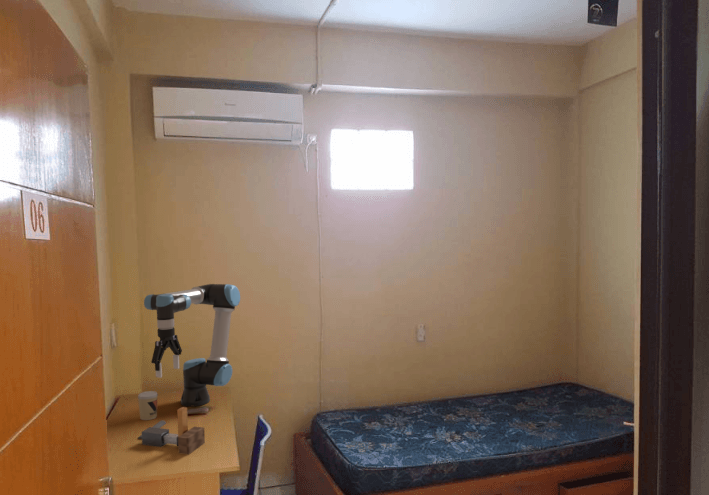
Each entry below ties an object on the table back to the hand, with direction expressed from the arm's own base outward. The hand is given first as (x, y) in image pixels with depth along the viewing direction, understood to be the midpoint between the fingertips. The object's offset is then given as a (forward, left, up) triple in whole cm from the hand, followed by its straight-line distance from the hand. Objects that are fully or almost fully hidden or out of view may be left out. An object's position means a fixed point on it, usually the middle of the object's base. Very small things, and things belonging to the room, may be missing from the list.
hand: (167, 372), depth 249 cm
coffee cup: (-13, -22, -28) cm, 38 cm away
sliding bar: (+13, +12, -27) cm, 32 cm away
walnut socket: (+13, +21, -28) cm, 37 cm away
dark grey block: (+13, +2, -28) cm, 31 cm away
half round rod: (+1, -9, -29) cm, 30 cm away
